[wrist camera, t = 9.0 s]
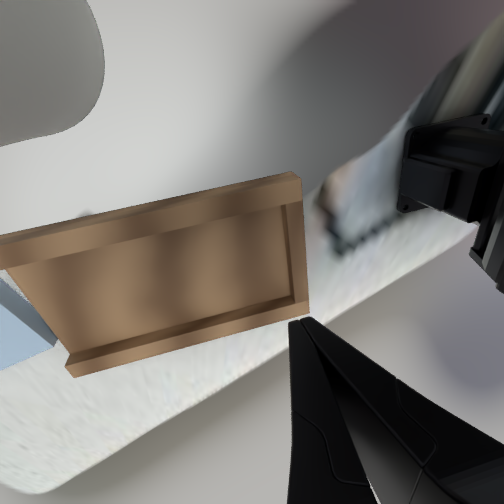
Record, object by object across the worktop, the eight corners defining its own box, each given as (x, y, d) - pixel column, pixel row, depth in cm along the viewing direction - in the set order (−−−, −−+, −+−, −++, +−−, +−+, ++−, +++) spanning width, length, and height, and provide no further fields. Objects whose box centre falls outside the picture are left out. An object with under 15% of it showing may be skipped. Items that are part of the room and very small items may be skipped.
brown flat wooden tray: (291, 171, 19) (301, 178, 18) (301, 298, 26) (309, 313, 24) (-8, 236, 17) (-29, 251, 16) (82, 357, 23) (74, 378, 22)
